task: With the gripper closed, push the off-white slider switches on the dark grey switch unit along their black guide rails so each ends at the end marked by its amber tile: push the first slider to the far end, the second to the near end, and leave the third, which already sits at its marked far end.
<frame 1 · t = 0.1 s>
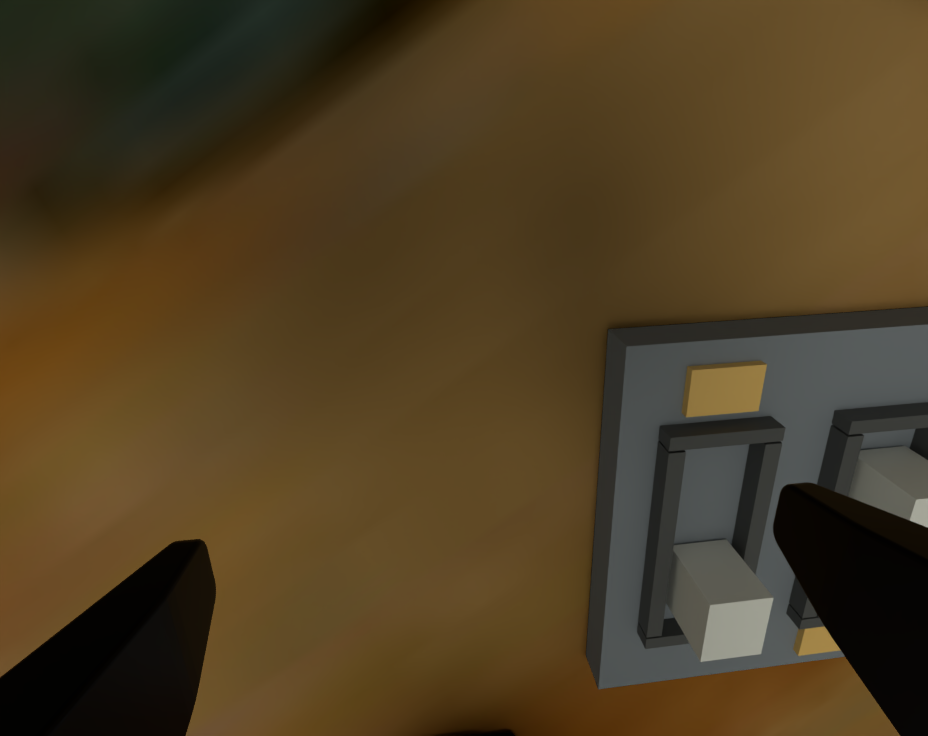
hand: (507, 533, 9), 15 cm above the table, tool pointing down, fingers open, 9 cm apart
switch unit: (827, 489, 29), on the table
slider 2: (900, 502, 24), point 4 cm above the table, slide at 2.0 cm
slider 1: (714, 597, 25), point 4 cm above the table, slide at -2.0 cm
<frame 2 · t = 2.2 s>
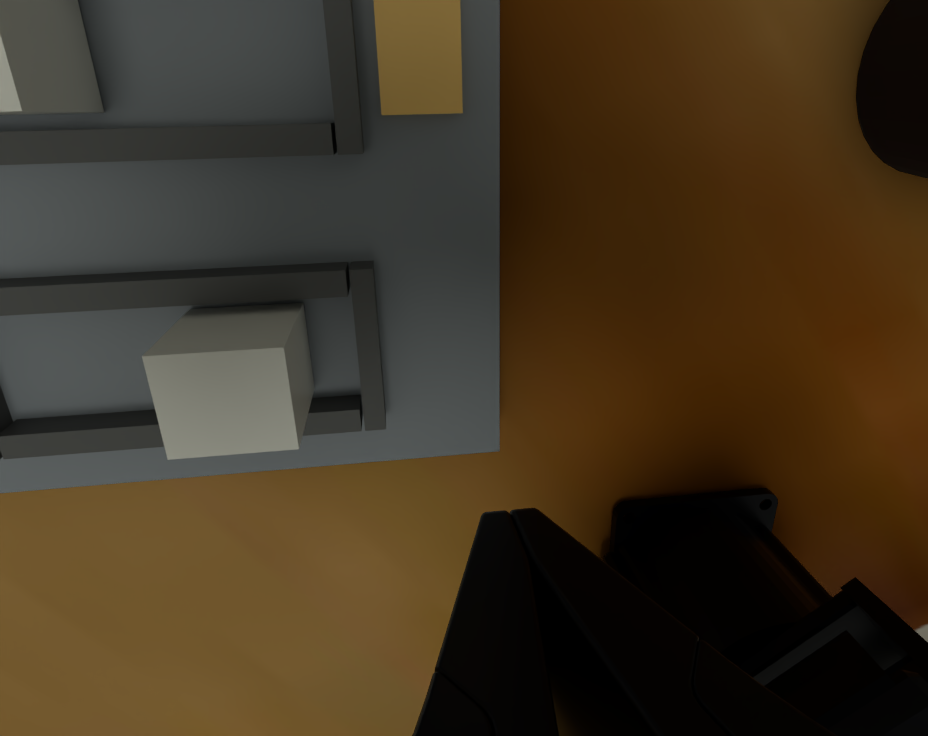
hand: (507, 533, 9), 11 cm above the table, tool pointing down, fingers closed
switch unit: (146, 58, 16), on the table
slider 1: (241, 374, 15), point 4 cm above the table, slide at -2.0 cm
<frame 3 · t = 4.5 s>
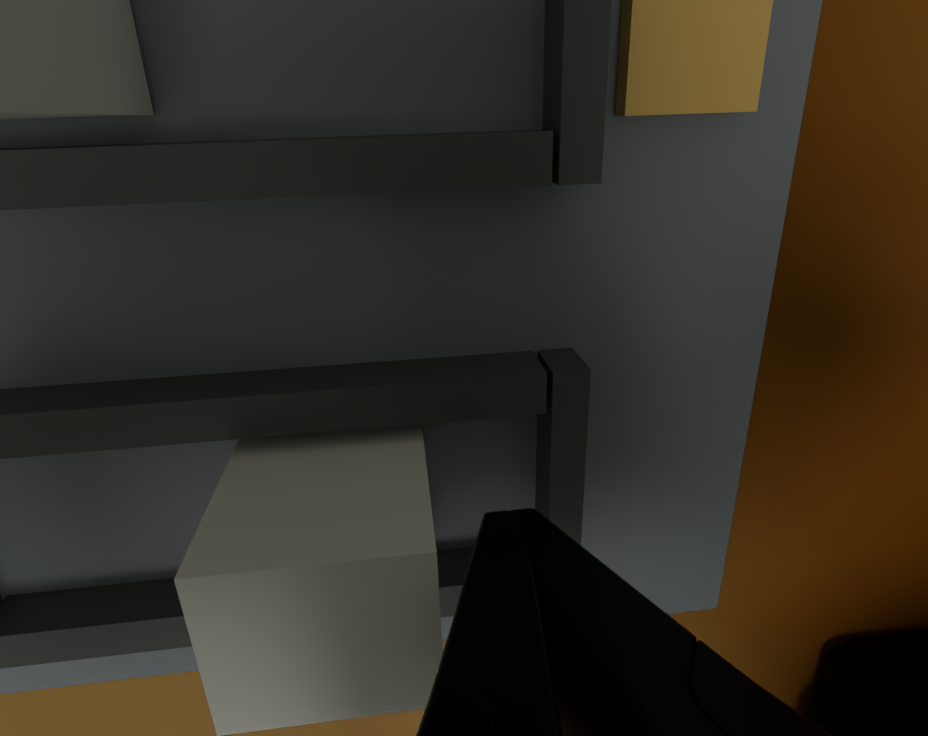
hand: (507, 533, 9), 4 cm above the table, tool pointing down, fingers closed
switch unit: (214, 27, 10), on the table
slider 1: (333, 554, 9), point 4 cm above the table, slide at -1.3 cm, touching gripper
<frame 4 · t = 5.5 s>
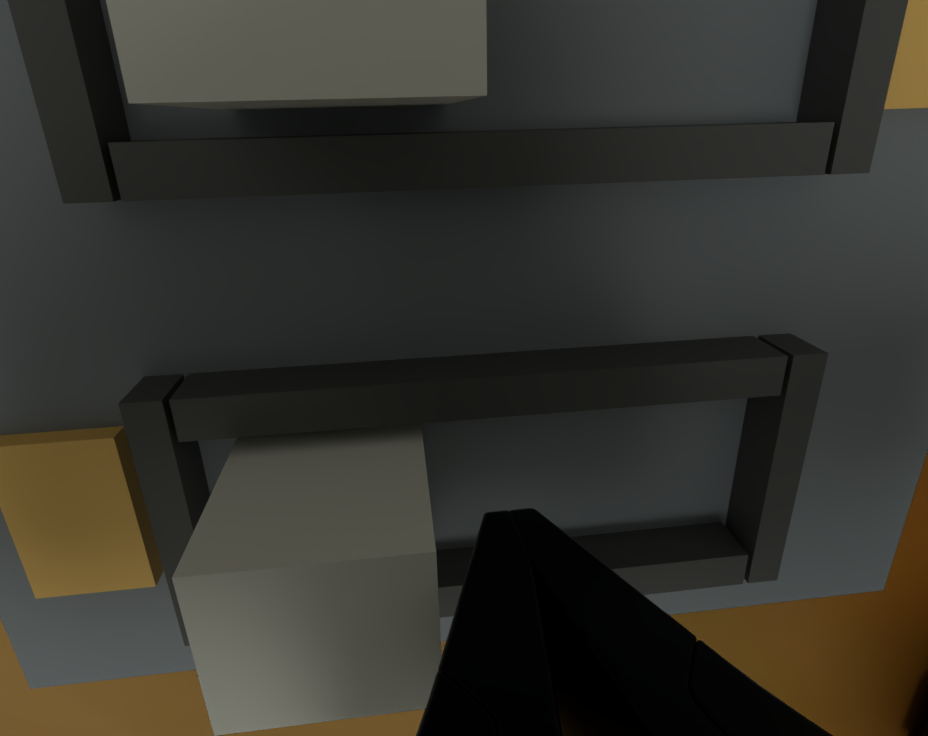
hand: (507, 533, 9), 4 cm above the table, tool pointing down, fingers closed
switch unit: (463, 22, 10), on the table
slider 1: (331, 554, 9), point 4 cm above the table, slide at 2.7 cm, touching gripper
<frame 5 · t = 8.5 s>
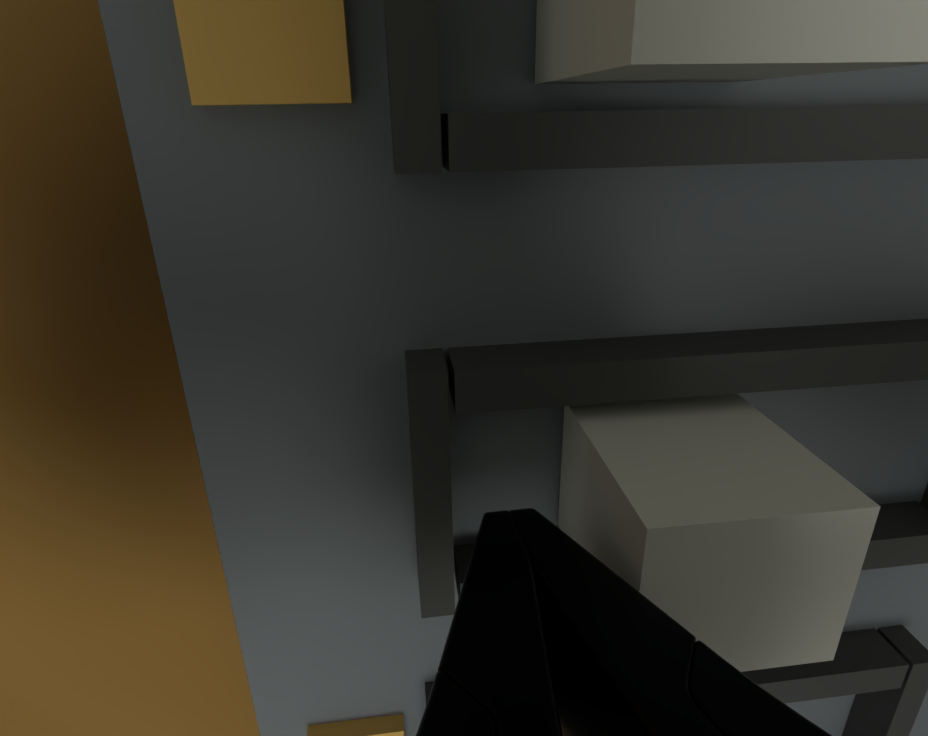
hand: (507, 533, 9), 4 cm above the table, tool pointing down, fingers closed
switch unit: (661, 402, 13), on the table
slider 2: (685, 517, 9), point 4 cm above the table, slide at 1.3 cm, touching gripper
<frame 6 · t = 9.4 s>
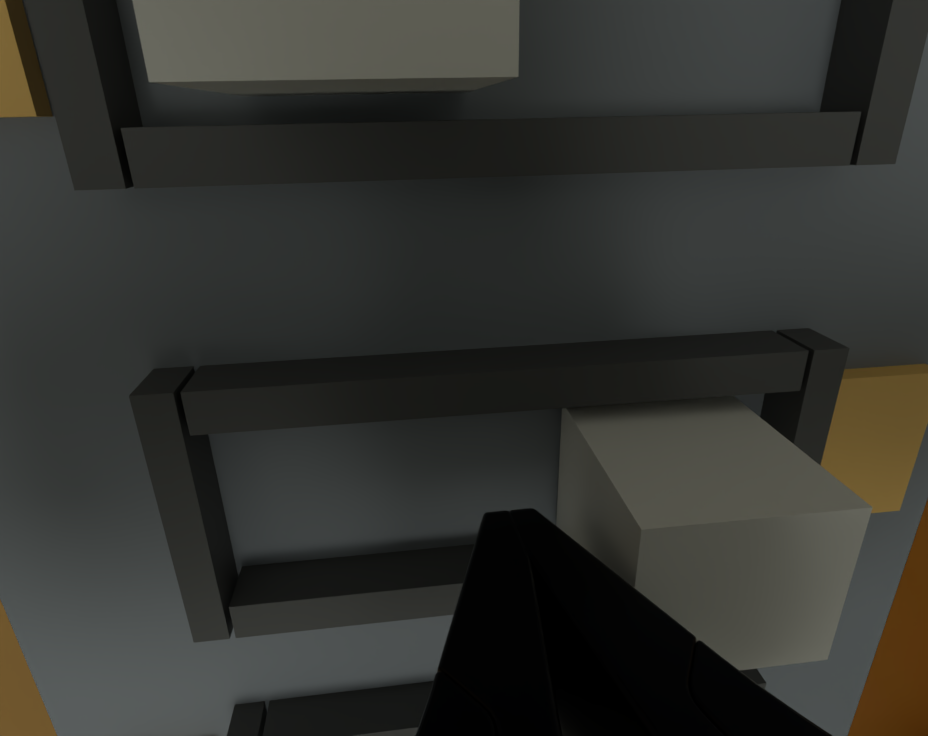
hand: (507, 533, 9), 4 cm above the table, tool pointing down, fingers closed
switch unit: (483, 417, 13), on the table
slider 2: (681, 517, 9), point 4 cm above the table, slide at -2.6 cm, touching gripper
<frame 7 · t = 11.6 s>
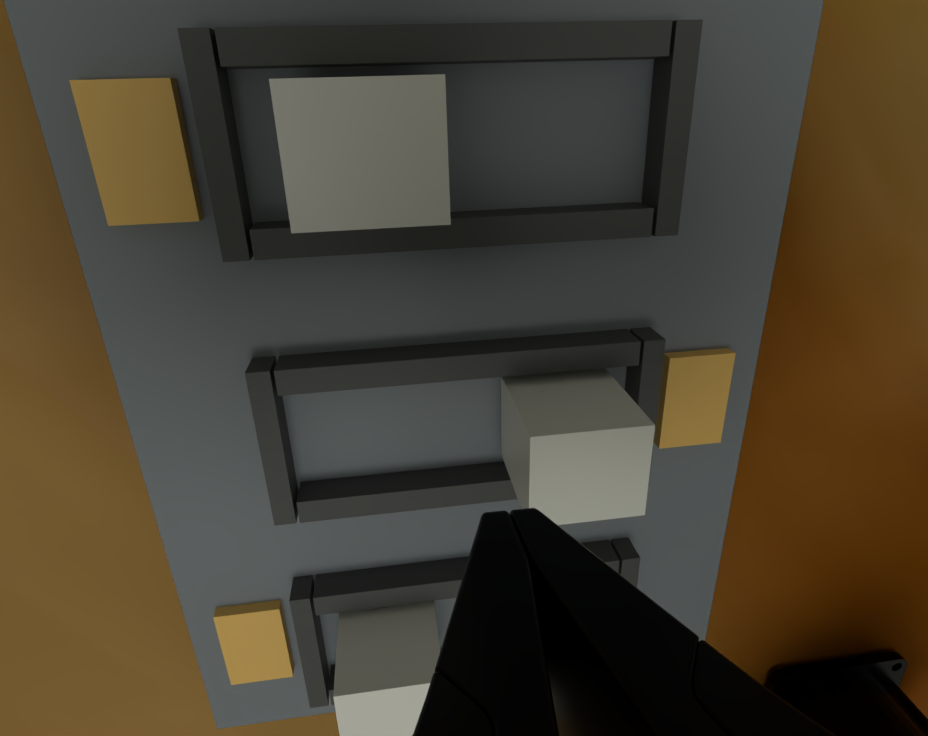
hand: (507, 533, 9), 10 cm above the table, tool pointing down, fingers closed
slider 3: (366, 149, 12), point 4 cm above the table, slide at 2.0 cm
switch unit: (453, 387, 19), on the table
slider 2: (568, 441, 16), point 4 cm above the table, slide at -2.6 cm
slider 1: (391, 667, 18), point 4 cm above the table, slide at 2.7 cm
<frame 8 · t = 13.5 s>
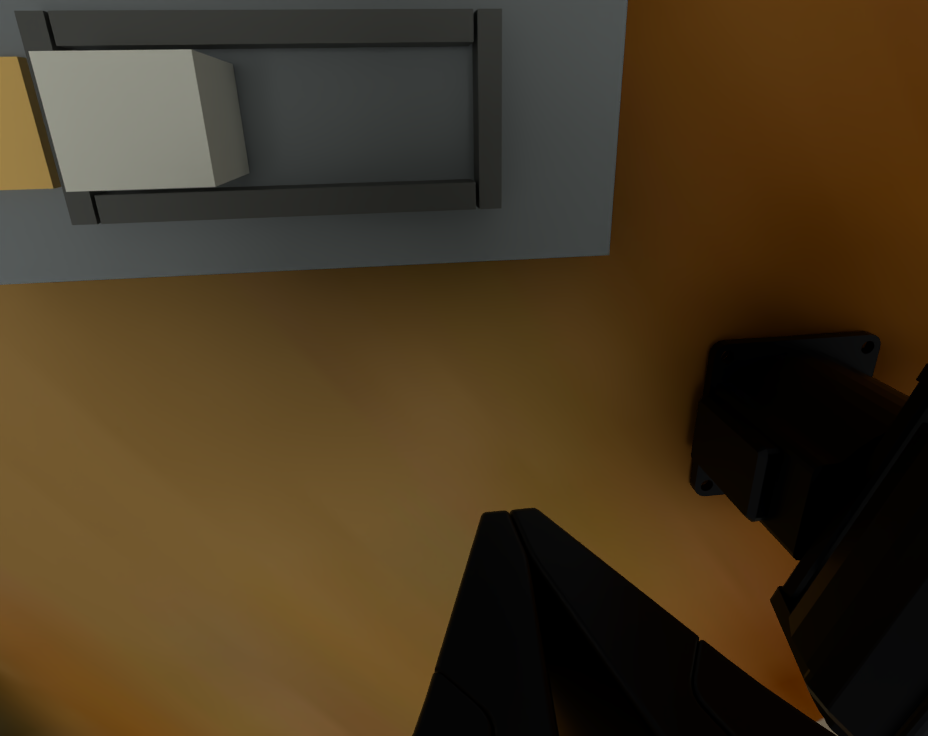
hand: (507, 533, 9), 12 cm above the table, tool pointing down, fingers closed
slider 1: (157, 122, 14), point 4 cm above the table, slide at 2.7 cm
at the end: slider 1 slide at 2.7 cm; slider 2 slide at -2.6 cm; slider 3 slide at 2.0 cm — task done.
